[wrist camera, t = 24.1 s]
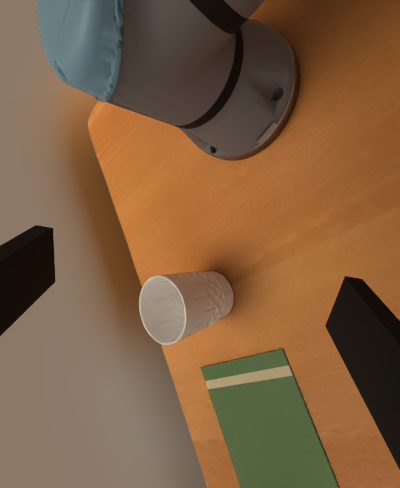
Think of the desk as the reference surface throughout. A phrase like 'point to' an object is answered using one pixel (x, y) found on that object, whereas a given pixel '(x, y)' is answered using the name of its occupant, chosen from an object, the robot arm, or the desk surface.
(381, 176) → the desk surface
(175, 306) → the white cup
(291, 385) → the cloth
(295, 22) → the desk surface
